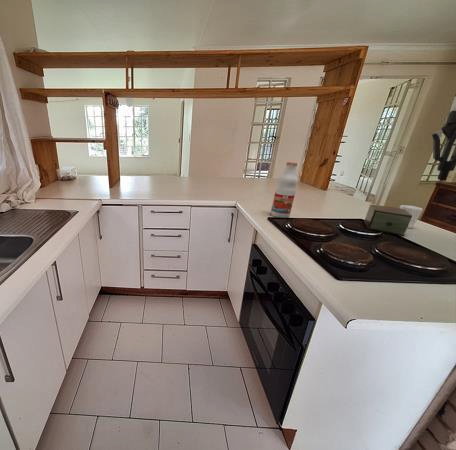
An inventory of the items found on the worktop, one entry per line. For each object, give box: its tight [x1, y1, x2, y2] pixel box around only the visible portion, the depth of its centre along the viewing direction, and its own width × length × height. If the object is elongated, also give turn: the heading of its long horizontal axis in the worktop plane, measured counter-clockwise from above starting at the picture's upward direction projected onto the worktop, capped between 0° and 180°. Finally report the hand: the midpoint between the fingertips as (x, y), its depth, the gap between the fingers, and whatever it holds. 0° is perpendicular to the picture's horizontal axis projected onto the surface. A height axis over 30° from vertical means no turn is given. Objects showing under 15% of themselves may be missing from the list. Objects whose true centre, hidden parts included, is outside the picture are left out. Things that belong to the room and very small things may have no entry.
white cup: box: [399, 204, 424, 229], centre depth 118 cm, size 8×8×10 cm
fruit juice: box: [270, 161, 299, 219], centre depth 123 cm, size 9×9×28 cm
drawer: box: [370, 212, 410, 235], centre depth 111 cm, size 15×11×8 cm
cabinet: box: [363, 203, 412, 237], centre depth 113 cm, size 15×13×10 cm
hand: (441, 179), depth 87 cm, fingers closed
